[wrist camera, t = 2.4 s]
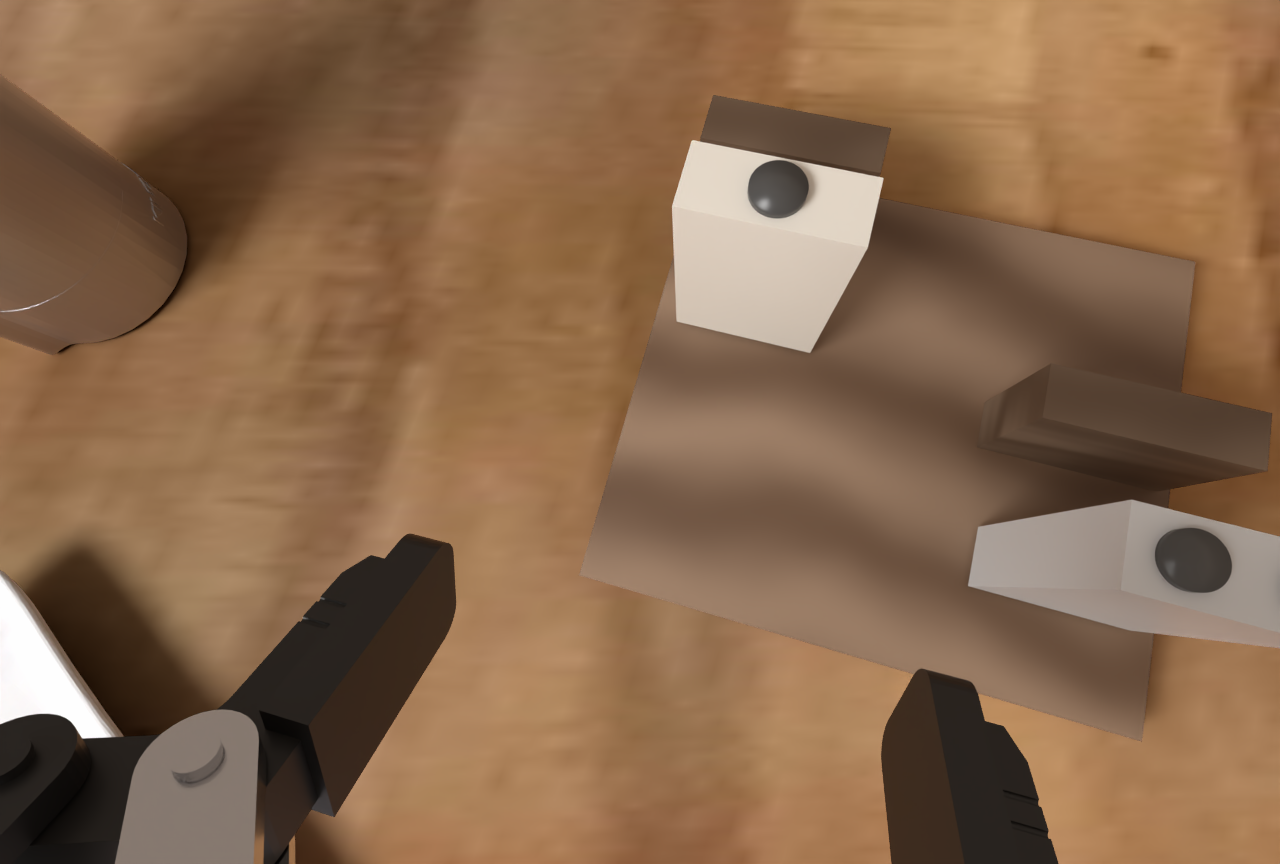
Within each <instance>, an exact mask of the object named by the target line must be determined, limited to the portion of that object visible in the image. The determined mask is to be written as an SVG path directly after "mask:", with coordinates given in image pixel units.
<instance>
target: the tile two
mask: <svg viewBox="0 0 1280 864" xmlns="http://www.w3.org/2000/svg"><path fill="white" fill-rule="evenodd" d="M968 586H970V587H973V588H977V589H980V590H984V591H988V592H991V593H995V594H999V595H1002V596H1006V597H1010V598H1013V599H1017V600H1020V601H1024V602H1028V603H1031V604H1035V605H1039V606H1042V607H1046V608H1050V609H1053V610H1057V611H1060V612H1064V613H1068V614H1071V615H1075V616H1079V617H1082V618H1086V619H1090V620H1093V621H1097V622H1100V623H1104V624H1108V625H1111V626H1115V627H1119V628H1122V629H1126V630H1130V631H1138V632H1147V633H1155V634H1164V635H1172V636H1181V637H1189V638H1198V639H1206V640H1215V641H1223V642H1232V643H1240V644H1249V645H1257V646H1266V647H1274V648H1280V537H1279V536H1275V535H1271V534H1267V533H1263V532H1259V531H1255V530H1251V529H1247V528H1243V527H1239V526H1235V525H1231V524H1227V523H1223V522H1219V521H1215V520H1211V519H1207V518H1203V517H1199V516H1195V515H1191V514H1187V513H1183V512H1179V511H1175V510H1171V509H1167V508H1163V507H1159V506H1155V505H1151V504H1147V503H1143V502H1139V501H1135V500H1127V501H1121V502H1115V503H1110V504H1104V505H1098V506H1093V507H1087V508H1081V509H1076V510H1070V511H1064V512H1059V513H1053V514H1048V515H1042V516H1036V517H1031V518H1025V519H1019V520H1014V521H1008V522H1002V523H997V524H991V525H985V526H980V527H978V530H977V536H976V542H975V548H974V554H973V559H972V565H971V571H970V577H969V583H968Z"/></svg>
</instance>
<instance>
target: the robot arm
mask: <svg viewBox="0 0 1280 864" xmlns="http://www.w3.org/2000/svg"><path fill="white" fill-rule="evenodd" d="M186 255H187V234H186V229H185V224H184V221H183V219H182V217H181V215H180V213H179V211H178V209H177V207H176V206H175V205H174V204H173V203H172V202H171V201H170V200H169V198H168V197H167V196H165V195H164V194H162V193H161V192H160V191H158V190H157V189H156V188H154V187H153V186H152V185H150V184H149V183H148V182H146V181H145V180H144V179H143V178H142V177H141V176H140V175H138V174H137V173H136V172H134V171H133V170H132V169H130V168H129V167H127V166H126V165H124V164H122V163H121V162H119V161H118V160H116V159H115V158H114V157H112V156H111V155H110V154H108V153H107V152H105V151H104V150H103V149H102V148H100V147H99V146H98V145H96V144H95V143H94V142H92V141H91V140H90V139H88V138H87V137H85V136H84V135H83V134H81V133H80V132H79V131H77V130H76V129H75V128H73V127H72V126H70V125H69V124H68V123H66V122H65V121H64V120H62V119H61V118H60V117H58V116H57V115H56V114H54V113H53V112H51V111H50V110H49V109H47V108H46V107H45V106H43V105H42V104H41V103H39V102H38V101H36V100H35V99H34V98H32V97H31V96H30V95H28V94H27V93H26V92H24V91H23V90H22V89H20V88H19V87H17V86H16V85H15V84H13V83H12V82H11V81H9V80H8V79H7V78H5V77H4V76H2V75H1V74H0V337H2V338H5V339H8V340H11V341H13V342H16V343H19V344H22V345H25V346H28V347H31V348H33V349H36V350H39V351H42V352H45V353H48V354H51V355H53V354H56V353H57V352H58V351H60V350H61V349H63V348H64V347H66V346H68V345H70V344H77V343H95V342H100V341H104V340H108V339H112V338H115V337H117V336H119V335H122V334H124V333H126V332H128V331H130V330H132V329H134V328H135V327H137V326H138V325H140V324H141V323H142V322H144V321H145V320H147V319H148V318H149V317H150V316H151V315H152V314H153V313H155V312H156V311H157V310H158V309H159V308H160V307H161V306H162V305H163V303H164V302H165V301H166V299H167V298H168V297H169V295H170V294H171V292H172V291H173V290H174V288H175V286H176V284H177V282H178V280H179V278H180V275H181V273H182V271H183V267H184V263H185V259H186ZM455 609H456V591H455V573H454V555H453V548H452V546H451V544H449V543H445V542H441V541H437V540H433V539H430V538H426V537H422V536H418V535H414V534H407V535H405V536H404V537H403V538H402V539H401V540H400V541H399V542H398V543H397V545H396V546H395V547H394V548H393V549H392V551H391V552H390V553H389V554H388V555H387V557H386V558H385V559H384V558H380V557H376V556H372V555H371V556H369V557H367V558H366V559H364V560H362V561H361V562H359V563H357V564H356V565H354V566H352V567H351V568H349V569H347V570H346V571H344V572H342V573H341V574H340V576H339V577H338V578H337V579H336V580H335V581H334V582H333V583H332V584H331V586H330V587H329V588H328V589H327V590H326V591H325V592H324V593H323V595H322V596H321V599H320V601H319V602H317V601H316V602H315V604H314V605H313V606H312V607H311V608H310V609H309V610H308V611H307V613H306V614H305V615H304V616H303V620H302V621H301V622H298V623H297V624H296V625H295V626H294V627H293V628H292V629H291V630H290V632H289V633H288V634H287V635H286V636H285V637H284V638H283V639H282V641H281V642H280V643H279V644H278V645H277V646H276V647H275V648H274V650H273V651H272V652H271V653H270V654H269V655H268V656H267V657H266V659H265V660H264V661H263V662H262V663H261V664H260V665H259V666H258V668H257V669H256V670H255V671H254V672H253V673H252V674H251V675H250V676H249V678H248V679H247V680H246V681H245V682H244V683H243V684H242V685H241V687H240V688H239V689H238V690H237V691H236V692H235V693H234V694H233V696H232V697H231V698H230V699H229V700H228V701H227V702H226V703H224V704H223V705H222V706H221V707H219V708H218V709H217V710H212V711H207V712H202V713H199V714H196V715H193V716H191V717H188V718H186V719H184V720H182V721H180V722H178V723H177V724H175V725H173V726H172V727H170V728H169V729H167V730H166V731H165V732H163V733H162V734H159V735H150V736H127V737H104V738H82V737H81V736H80V734H79V732H78V731H77V729H76V728H75V726H74V725H73V724H72V722H71V721H69V720H68V719H67V718H65V717H62V716H59V715H55V714H34V715H27V716H23V717H19V718H15V719H13V720H10V721H7V722H4V723H2V724H0V864H295V833H296V832H297V830H298V829H299V827H300V826H301V824H302V823H303V821H304V819H305V818H306V816H307V815H308V813H309V812H310V810H314V811H317V812H320V813H323V814H326V815H330V816H333V817H335V815H336V814H337V812H338V810H339V809H340V807H341V805H342V804H343V802H344V801H345V799H346V797H347V796H348V794H349V793H350V791H351V789H352V788H353V786H354V784H355V783H356V781H357V780H358V778H359V776H360V775H361V773H362V772H363V770H364V768H365V767H366V765H367V763H368V762H369V760H370V759H371V757H372V755H373V754H374V752H375V751H376V749H377V747H378V746H379V744H380V742H381V741H382V739H383V738H384V736H385V734H386V733H387V731H388V729H389V728H390V726H391V725H392V723H393V721H394V720H395V718H396V717H397V715H398V713H399V712H400V710H401V708H402V707H403V705H404V704H405V702H406V700H407V699H408V697H409V696H410V694H411V692H412V691H413V689H414V687H415V686H416V684H417V683H418V681H419V679H420V678H421V676H422V674H423V673H424V671H425V670H426V668H427V666H428V665H429V663H430V662H431V660H432V658H433V657H434V655H435V653H436V652H437V650H438V649H439V647H440V645H441V644H442V642H443V641H444V639H445V637H446V635H447V633H448V631H449V629H450V627H451V624H452V621H453V618H454V614H455ZM881 760H882V772H883V782H884V792H885V802H886V812H887V822H888V832H889V842H890V852H891V862H892V864H1058V861H1057V857H1056V854H1055V851H1054V847H1053V844H1052V841H1051V839H1049V838H1048V828H1047V824H1046V821H1045V818H1044V815H1043V811H1042V808H1041V807H1039V806H1038V800H1039V798H1038V795H1037V792H1036V788H1035V785H1034V782H1033V778H1032V775H1031V772H1030V769H1029V765H1028V762H1027V760H1026V759H1025V758H1024V756H1023V755H1022V753H1021V752H1020V750H1019V749H1018V747H1017V746H1016V744H1015V743H1014V741H1013V740H1012V738H1011V737H1010V735H1009V734H1008V732H1007V731H1006V729H1005V728H1004V726H1001V725H997V724H994V723H990V722H986V721H985V720H984V716H983V712H982V708H981V704H980V701H979V697H978V693H977V690H976V688H975V686H974V684H973V683H972V682H971V681H968V680H965V679H961V678H957V677H953V676H949V675H945V674H942V673H938V672H934V671H930V670H926V669H922V668H921V669H918V670H917V671H916V672H915V674H914V675H913V677H912V679H911V681H910V683H909V684H908V686H907V688H906V690H905V691H904V693H903V695H902V697H901V699H900V700H899V702H898V704H897V706H896V708H895V709H894V711H893V713H892V715H891V716H890V718H889V720H888V722H887V724H886V727H885V731H884V735H883V741H882V751H881Z"/></svg>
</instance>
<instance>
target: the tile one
mask: <svg viewBox="0 0 1280 864" xmlns="http://www.w3.org/2000/svg"><path fill="white" fill-rule="evenodd" d="M883 179H884V178H882V177H877V176H871V175H866V174H861V173H856V172H851V171H846V170H841V169H836V168H831V167H826V166H821V165H816V164H811V163H806V162H801V161H796V160H790V159H785V158H780V157H775V156H770V155H765V154H760V153H755V152H750V151H745V150H740V149H735V148H730V147H725V146H720V145H715V144H709V143H704V142H699V141H694V140H692V142H691V145H690V149H689V152H688V155H687V158H686V162H685V165H684V168H683V172H682V175H681V178H680V182H679V185H678V188H677V192H676V195H675V198H674V202H673V205H672V217H673V243H674V269H675V294H676V320H677V322H681V323H685V324H689V325H694V326H698V327H702V328H706V329H711V330H715V331H719V332H723V333H727V334H732V335H736V336H740V337H744V338H749V339H753V340H757V341H761V342H766V343H770V344H774V345H778V346H783V347H787V348H791V349H795V350H799V351H804V352H808V353H810V352H811V350H812V349H813V347H814V345H815V343H816V341H817V339H818V338H819V336H820V334H821V332H822V330H823V328H824V327H825V325H826V323H827V321H828V319H829V318H830V316H831V314H832V312H833V310H834V308H835V307H836V305H837V303H838V301H839V299H840V297H841V296H842V294H843V292H844V290H845V288H846V287H847V285H848V283H849V281H850V279H851V277H852V276H853V274H854V272H855V270H856V268H857V266H858V265H859V263H860V261H861V259H862V257H863V256H864V254H865V252H866V250H867V248H868V245H869V240H870V236H871V231H872V227H873V223H874V218H875V214H876V209H877V205H878V201H879V196H880V192H881V188H882V183H883Z"/></svg>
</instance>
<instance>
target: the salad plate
mask: <svg viewBox="0 0 1280 864" xmlns="http://www.w3.org/2000/svg"><path fill="white" fill-rule="evenodd" d="M34 714H55V715H59V716H62V717H65V718H67V719H68V720H69V721H71V722H72V724H73V725H74V726H75V728H76V729H77V731H78V732H79V734H80V736H81V737H82V738H104V737H124V736H123V734H122V733H121V732H120V730H119V729H118V728H117V726H116V725H115V724H114V722H113V721H112V719H111V718H110V717H109V715H108V714H107V713H106V711H105V710H104V708H103V707H102V706H101V704H100V703H99V701H98V700H97V698H96V697H95V696H94V694H93V693H92V691H91V690H90V688H89V687H88V685H87V684H86V683H85V681H84V680H83V678H82V677H81V675H80V674H79V673H78V671H77V670H76V668H75V667H74V665H73V664H72V662H71V661H70V659H69V658H68V656H67V655H66V653H65V651H64V650H63V648H62V647H61V645H60V644H59V642H58V641H57V639H56V638H55V636H54V634H53V633H52V631H51V630H50V628H49V627H48V625H47V624H46V622H45V620H44V619H43V617H42V616H41V614H40V613H39V611H38V610H37V608H36V607H35V605H34V604H33V602H32V601H31V600H30V599H29V597H28V596H27V595H26V594H25V592H24V591H23V590H22V589H21V588H20V587H19V586H18V584H17V583H15V582H14V581H13V580H12V579H11V578H10V577H9V576H8V575H7V574H6V573H4V572H3V571H1V570H0V724H2V723H4V722H7V721H10V720H13V719H15V718H19V717H23V716H27V715H34Z"/></svg>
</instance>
